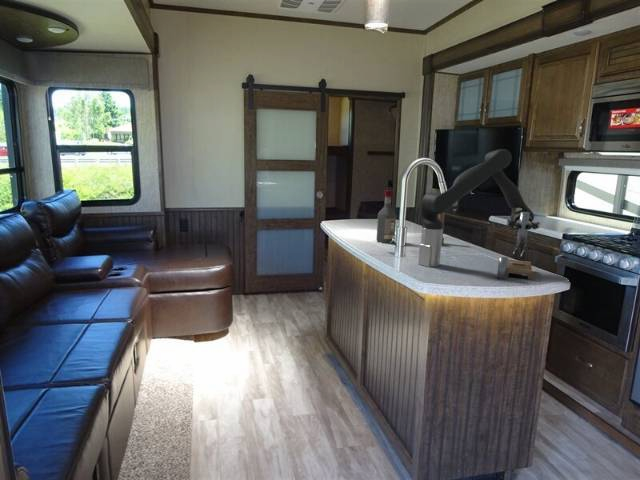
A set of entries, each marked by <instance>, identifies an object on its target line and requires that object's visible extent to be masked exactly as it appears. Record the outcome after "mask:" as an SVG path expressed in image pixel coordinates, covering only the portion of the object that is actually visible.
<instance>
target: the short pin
mask: <svg viewBox="0 0 640 480" xmlns="http://www.w3.org/2000/svg"><path fill="white" fill-rule="evenodd" d="M508 260H509V257H506V256H499V257H498V263H497V272H496V280H500V281H501V280H503V281H505V280H507V277H506V274H507V265H508Z"/></svg>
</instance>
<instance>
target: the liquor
mask: <svg viewBox="0 0 640 480" xmlns="http://www.w3.org/2000/svg"><path fill="white" fill-rule="evenodd" d="M392 192H393V191H392V190H391V189H389V190H388V189H386V190H384V205H383V207H382V209H380V210H379V212H378V213H377V223H376V225H377V227H376V242H377V243H380V242H381V243H380V244H386V243H389V244H391V243H390V242H391V241H392V237H393V236H396V223H397V222H396V221H397V220H396V219H397V213H396V212H395V211H394V210H393V208H392V203H391V202H392Z"/></svg>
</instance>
